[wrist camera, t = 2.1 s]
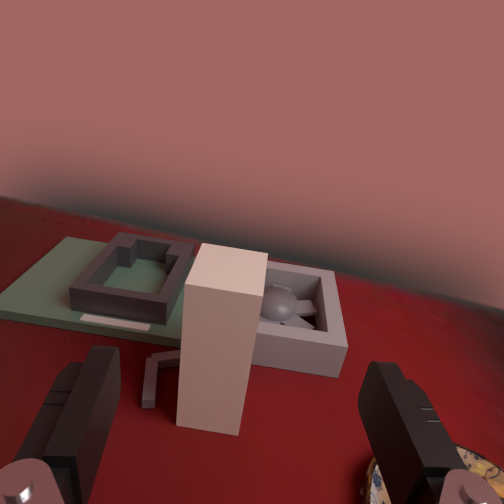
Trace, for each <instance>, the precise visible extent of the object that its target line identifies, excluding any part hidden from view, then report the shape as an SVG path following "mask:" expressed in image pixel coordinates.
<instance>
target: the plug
mask: <svg viewBox="0 0 504 504" xmlns="http://www.w3.org/2000/svg"><path fill="white" fill-rule="evenodd" d="M267 256H268V254H267V253H261V252H255V251H249V250H243V249H237V248H230V247H224V246H218V245H212V244H205V243H202V246H201V248H200V250H199V252H198V255H197V257H196V259H195V261H194V264H193V266H192V268H191V271H190V273H189V275H188V277H187V280H186V282H185V287H184V304H183V320H182V337H181V353H180V370H179V386H178V403H177V419H176V426H182V427H188V428H194V429H200V430H206V431H212V432H218V433H224V434H230V435H236V436H238V433H239V428H240V422H241V417H242V411H243V406H244V400H245V394H246V389H247V383H248V378H249V372H250V367H251V361H252V356H253V350H254V344H255V339H256V333H257V328H258V322H259V317H260V311H261V306H262V300H263V293H264V284H265V275H266V266H267Z"/></svg>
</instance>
